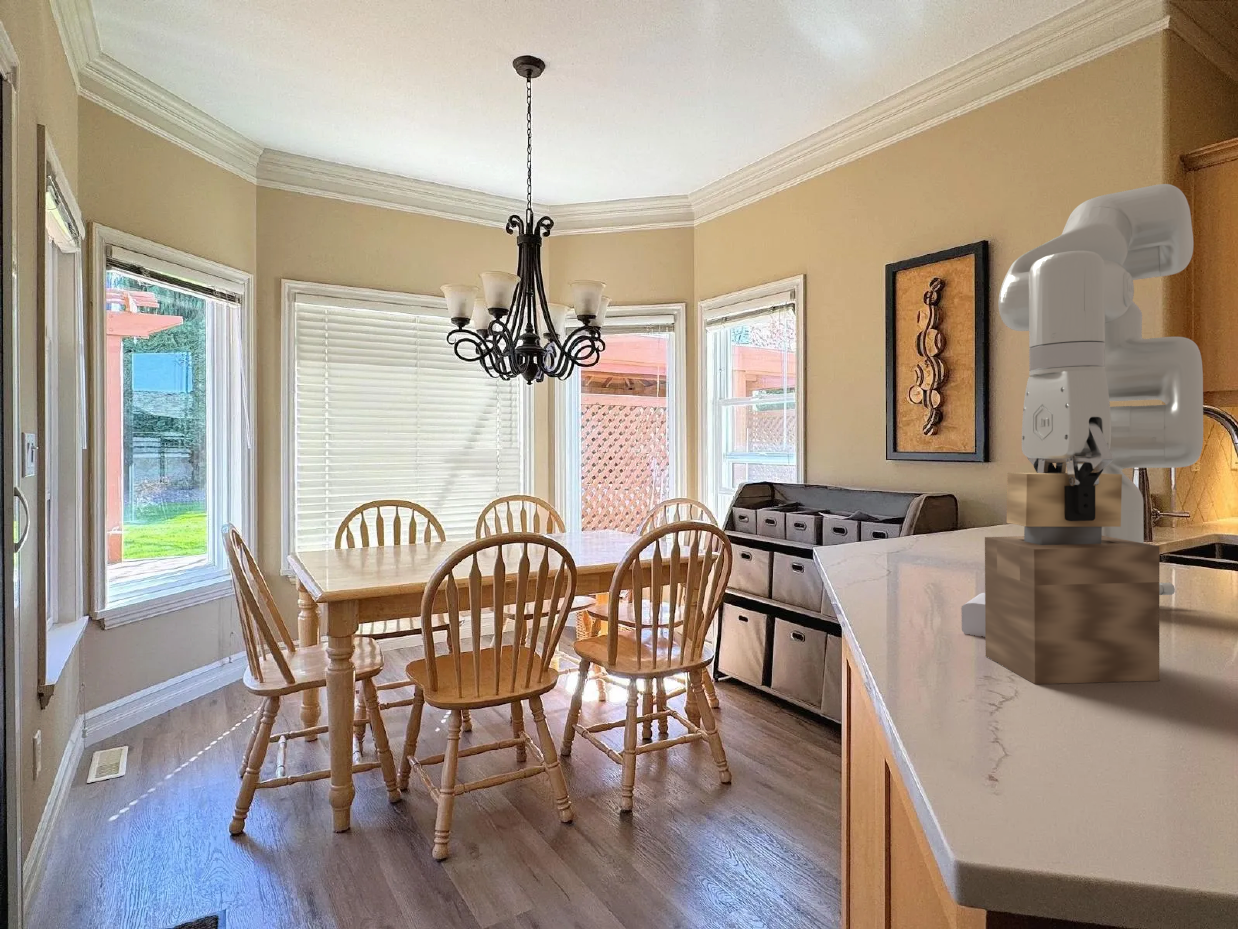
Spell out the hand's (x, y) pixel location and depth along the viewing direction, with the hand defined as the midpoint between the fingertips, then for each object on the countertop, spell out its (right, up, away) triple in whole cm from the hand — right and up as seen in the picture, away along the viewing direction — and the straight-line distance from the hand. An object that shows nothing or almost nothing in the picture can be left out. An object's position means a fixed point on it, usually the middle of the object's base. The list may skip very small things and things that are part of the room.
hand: (1066, 516), depth 85 cm
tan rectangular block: (-1, -6, 0) cm, 6 cm away
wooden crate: (0, -18, +1) cm, 18 cm away
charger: (+4, -18, +19) cm, 26 cm away
